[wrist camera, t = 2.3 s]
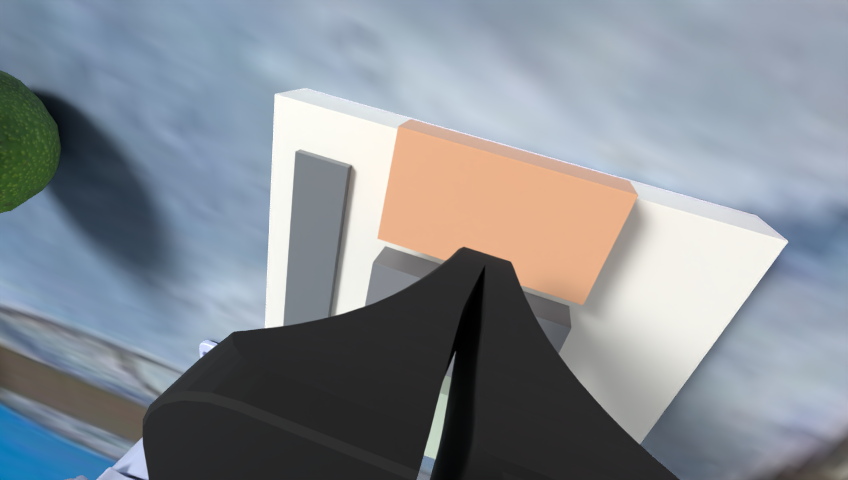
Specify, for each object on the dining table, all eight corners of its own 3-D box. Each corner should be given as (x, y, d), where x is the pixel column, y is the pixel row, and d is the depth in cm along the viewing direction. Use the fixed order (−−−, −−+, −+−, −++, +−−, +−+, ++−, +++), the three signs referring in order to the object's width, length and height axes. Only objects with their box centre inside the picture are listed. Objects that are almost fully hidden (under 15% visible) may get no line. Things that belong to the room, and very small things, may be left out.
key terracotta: (579, 283, 16) (583, 305, 15) (389, 223, 17) (377, 238, 16) (629, 181, 14) (638, 195, 13) (410, 119, 15) (398, 126, 14)
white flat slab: (609, 435, 23) (617, 483, 21) (287, 319, 26) (260, 349, 23) (756, 215, 17) (794, 246, 14) (305, 87, 19) (269, 94, 17)
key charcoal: (532, 381, 19) (532, 406, 18) (369, 323, 20) (357, 343, 19) (568, 305, 17) (571, 328, 16) (385, 246, 18) (372, 262, 17)
